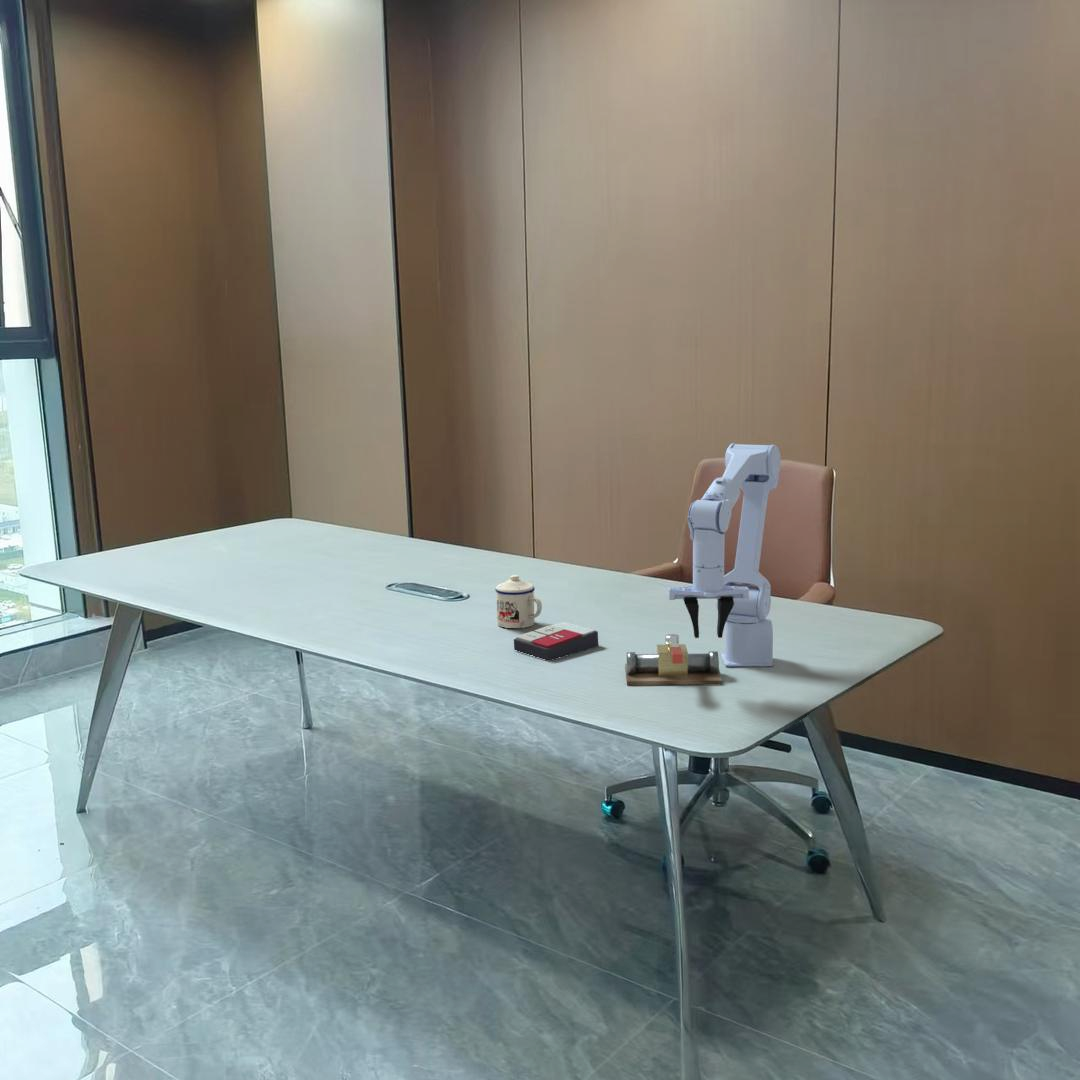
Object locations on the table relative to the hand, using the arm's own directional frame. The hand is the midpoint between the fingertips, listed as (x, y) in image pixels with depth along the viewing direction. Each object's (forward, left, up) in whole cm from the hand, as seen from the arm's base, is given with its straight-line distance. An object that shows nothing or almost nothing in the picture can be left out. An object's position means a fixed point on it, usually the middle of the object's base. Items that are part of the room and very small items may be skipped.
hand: (708, 636), depth 199 cm
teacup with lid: (+38, -46, -11) cm, 61 cm away
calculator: (+29, -28, -11) cm, 42 cm away
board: (+6, -8, -10) cm, 15 cm away
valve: (+6, -8, -10) cm, 15 cm away
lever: (+6, -3, -4) cm, 8 cm away
